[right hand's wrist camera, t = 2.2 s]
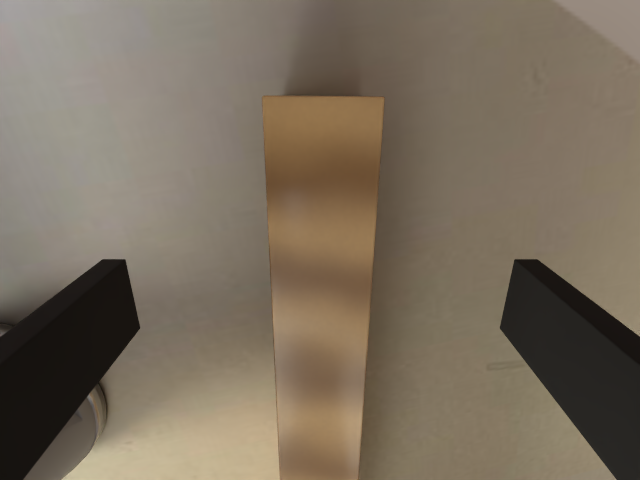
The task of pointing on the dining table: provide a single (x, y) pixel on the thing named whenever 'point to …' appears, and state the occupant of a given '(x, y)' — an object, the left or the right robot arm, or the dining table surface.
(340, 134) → the bar
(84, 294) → the right robot arm
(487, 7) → the dining table surface
